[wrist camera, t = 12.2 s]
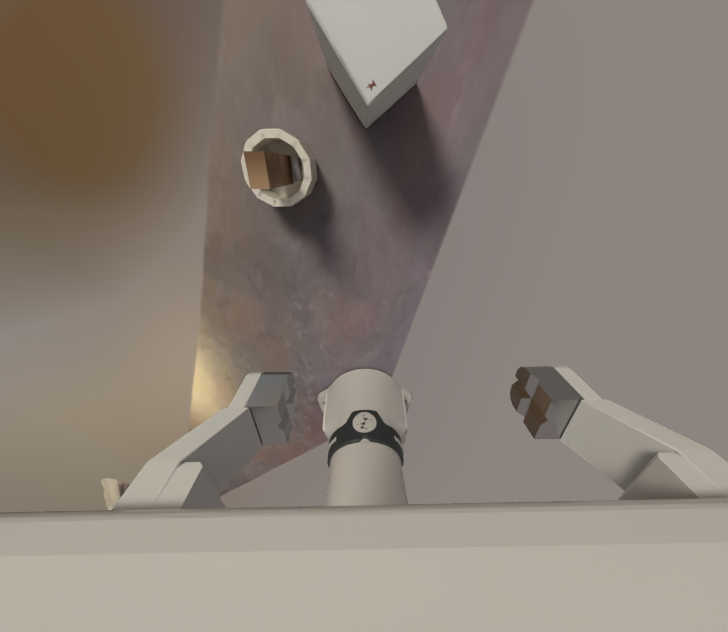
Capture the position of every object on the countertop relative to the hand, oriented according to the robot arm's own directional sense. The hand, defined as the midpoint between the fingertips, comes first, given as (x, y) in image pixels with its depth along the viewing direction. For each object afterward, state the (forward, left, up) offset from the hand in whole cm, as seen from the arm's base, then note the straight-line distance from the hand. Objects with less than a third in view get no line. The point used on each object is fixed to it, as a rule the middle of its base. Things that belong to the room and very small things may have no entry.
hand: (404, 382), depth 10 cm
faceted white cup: (+7, +11, -31) cm, 34 cm away
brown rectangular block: (+7, +11, -30) cm, 33 cm away
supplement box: (+16, 0, -31) cm, 35 cm away
